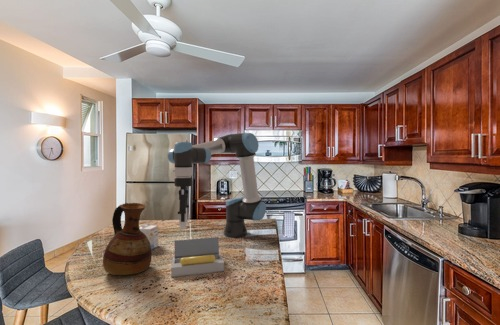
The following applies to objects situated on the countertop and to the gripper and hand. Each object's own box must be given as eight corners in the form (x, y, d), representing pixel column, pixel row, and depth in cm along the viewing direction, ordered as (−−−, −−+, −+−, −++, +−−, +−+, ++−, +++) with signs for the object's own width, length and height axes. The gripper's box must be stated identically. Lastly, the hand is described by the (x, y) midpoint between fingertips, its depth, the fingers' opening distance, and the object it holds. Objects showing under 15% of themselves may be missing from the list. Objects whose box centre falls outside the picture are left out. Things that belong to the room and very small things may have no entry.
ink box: (150, 250, 146) (149, 226, 145) (136, 249, 147) (135, 225, 147) (158, 245, 154) (158, 222, 154) (145, 244, 156) (144, 221, 155)
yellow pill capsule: (215, 260, 120) (214, 253, 120) (215, 262, 117) (215, 255, 117) (180, 263, 116) (179, 256, 116) (179, 266, 113) (179, 259, 113)
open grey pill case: (220, 259, 131) (220, 251, 131) (224, 271, 117) (223, 262, 117) (173, 264, 126) (172, 256, 126) (171, 277, 112) (171, 267, 112)
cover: (219, 254, 126) (218, 254, 127) (218, 237, 128) (218, 237, 129) (174, 258, 122) (174, 258, 122) (174, 240, 123) (174, 240, 124)
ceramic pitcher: (129, 284, 107) (127, 208, 106) (91, 277, 114) (89, 206, 113) (161, 265, 125) (160, 201, 125) (127, 260, 132) (126, 199, 132)
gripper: (176, 175, 130) (176, 219, 130) (171, 179, 106) (172, 233, 106) (192, 175, 132) (192, 219, 132) (191, 178, 107) (191, 232, 107)
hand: (183, 225), depth 119 cm, fingers open, 13 cm apart
